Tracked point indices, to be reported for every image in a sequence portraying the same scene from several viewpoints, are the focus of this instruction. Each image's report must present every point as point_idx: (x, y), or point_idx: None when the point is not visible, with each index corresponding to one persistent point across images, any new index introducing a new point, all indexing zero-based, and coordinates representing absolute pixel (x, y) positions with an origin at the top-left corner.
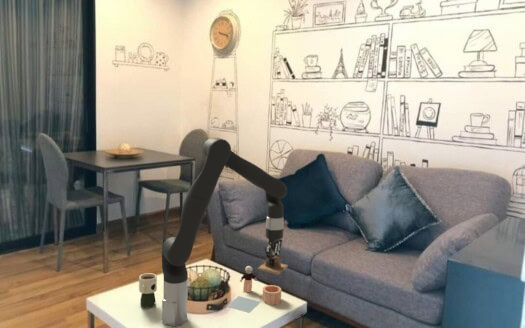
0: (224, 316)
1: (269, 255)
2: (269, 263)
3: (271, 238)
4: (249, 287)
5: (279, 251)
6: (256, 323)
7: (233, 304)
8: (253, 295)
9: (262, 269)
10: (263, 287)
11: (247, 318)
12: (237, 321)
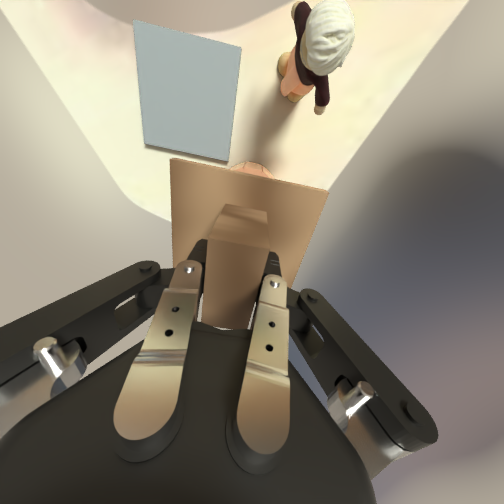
0: (77, 46)
1: (141, 294)
2: (195, 247)
3: None
4: (286, 86)
5: (293, 330)
6: (114, 179)
7: (163, 52)
8: (274, 116)
9: (171, 196)
10: (249, 168)
11: (120, 144)
12: (84, 116)
